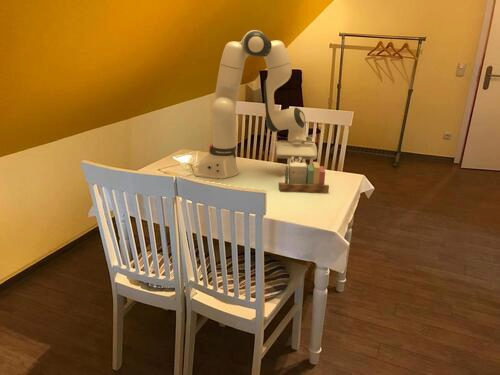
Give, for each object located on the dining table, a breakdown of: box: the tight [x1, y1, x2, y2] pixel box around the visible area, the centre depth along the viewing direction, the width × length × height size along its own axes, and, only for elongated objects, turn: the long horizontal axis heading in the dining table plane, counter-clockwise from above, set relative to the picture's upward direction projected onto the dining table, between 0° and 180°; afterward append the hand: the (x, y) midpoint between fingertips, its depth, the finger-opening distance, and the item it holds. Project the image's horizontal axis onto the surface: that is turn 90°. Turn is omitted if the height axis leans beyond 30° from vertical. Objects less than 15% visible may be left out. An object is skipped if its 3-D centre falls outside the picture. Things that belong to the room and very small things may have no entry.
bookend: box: [278, 165, 289, 191], centre depth 196 cm, size 4×8×9 cm, turn 177°
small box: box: [288, 162, 308, 184], centre depth 199 cm, size 8×6×10 cm
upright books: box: [306, 161, 326, 185], centre depth 195 cm, size 8×8×12 cm
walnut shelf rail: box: [279, 182, 330, 194], centre depth 192 cm, size 22×2×4 cm, turn 87°
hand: (296, 165), depth 205 cm, fingers closed
